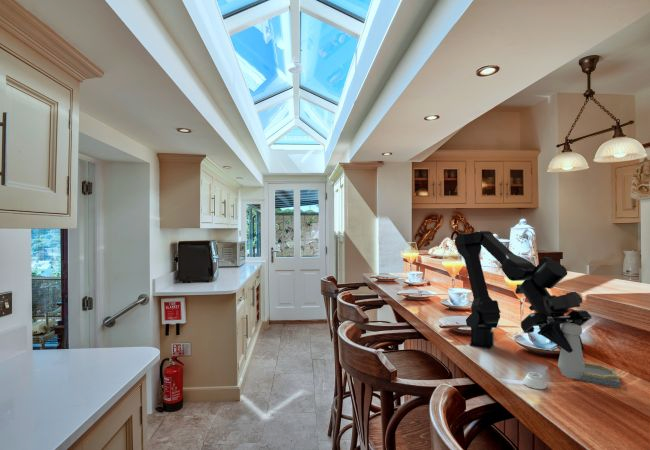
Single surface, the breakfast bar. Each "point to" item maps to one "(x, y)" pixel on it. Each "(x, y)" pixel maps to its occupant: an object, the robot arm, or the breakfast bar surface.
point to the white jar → (534, 381)
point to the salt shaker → (572, 353)
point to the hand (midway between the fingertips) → (576, 351)
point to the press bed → (600, 375)
